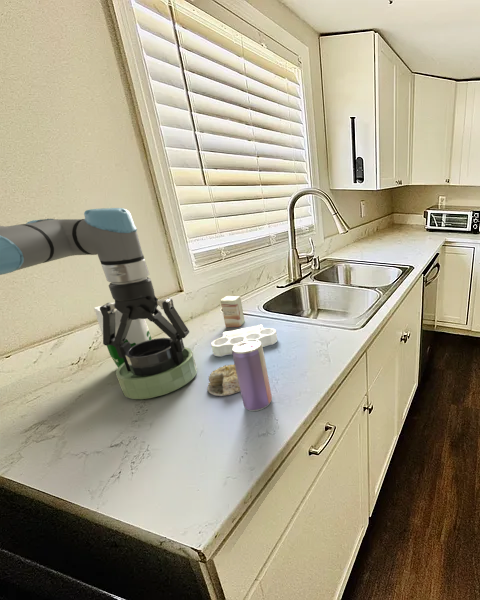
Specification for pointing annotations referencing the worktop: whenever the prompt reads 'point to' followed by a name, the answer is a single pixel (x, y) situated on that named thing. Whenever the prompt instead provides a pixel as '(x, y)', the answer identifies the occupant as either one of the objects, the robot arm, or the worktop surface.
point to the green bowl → (157, 379)
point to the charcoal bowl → (150, 357)
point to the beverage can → (252, 374)
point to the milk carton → (134, 336)
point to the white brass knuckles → (243, 339)
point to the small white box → (232, 311)
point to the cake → (224, 381)
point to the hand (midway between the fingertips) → (156, 365)
